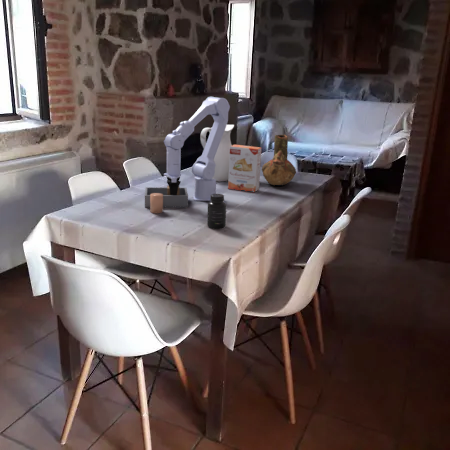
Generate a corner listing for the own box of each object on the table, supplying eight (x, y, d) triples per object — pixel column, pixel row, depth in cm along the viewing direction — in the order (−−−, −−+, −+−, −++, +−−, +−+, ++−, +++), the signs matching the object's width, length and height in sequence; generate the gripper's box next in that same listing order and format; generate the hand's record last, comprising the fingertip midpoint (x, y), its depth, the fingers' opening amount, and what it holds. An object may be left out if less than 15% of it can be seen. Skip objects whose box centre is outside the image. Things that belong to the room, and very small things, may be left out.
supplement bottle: (206, 223, 180) (207, 192, 177) (224, 223, 181) (226, 192, 177) (207, 229, 174) (208, 197, 170) (226, 229, 175) (227, 197, 171)
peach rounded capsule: (162, 209, 195) (162, 193, 193) (163, 213, 190) (163, 196, 188) (150, 209, 194) (150, 192, 192) (150, 213, 189) (150, 196, 187)
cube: (178, 196, 207) (179, 185, 205) (179, 200, 202) (179, 188, 200) (167, 196, 206) (167, 185, 204) (167, 200, 201) (167, 188, 200)
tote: (186, 198, 212) (186, 187, 210) (187, 207, 199) (188, 195, 197) (145, 198, 209) (145, 187, 208) (144, 207, 197) (144, 195, 195)
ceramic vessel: (258, 190, 231) (261, 138, 223) (262, 178, 255) (266, 131, 247) (294, 193, 228) (298, 140, 220) (295, 181, 253) (299, 133, 245)
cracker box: (227, 189, 230) (229, 145, 224) (232, 186, 236) (233, 144, 229) (255, 193, 226) (258, 148, 219) (259, 190, 231) (262, 146, 224)
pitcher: (215, 174, 261) (216, 121, 252) (240, 179, 252) (243, 125, 243) (186, 181, 242) (187, 125, 233) (213, 187, 233) (215, 129, 224)
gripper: (163, 159, 205) (163, 190, 210) (164, 167, 192) (164, 199, 196) (180, 160, 206) (180, 190, 211) (181, 167, 193) (181, 199, 197)
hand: (173, 195), depth 203 cm, fingers closed on cube, 5 cm apart
